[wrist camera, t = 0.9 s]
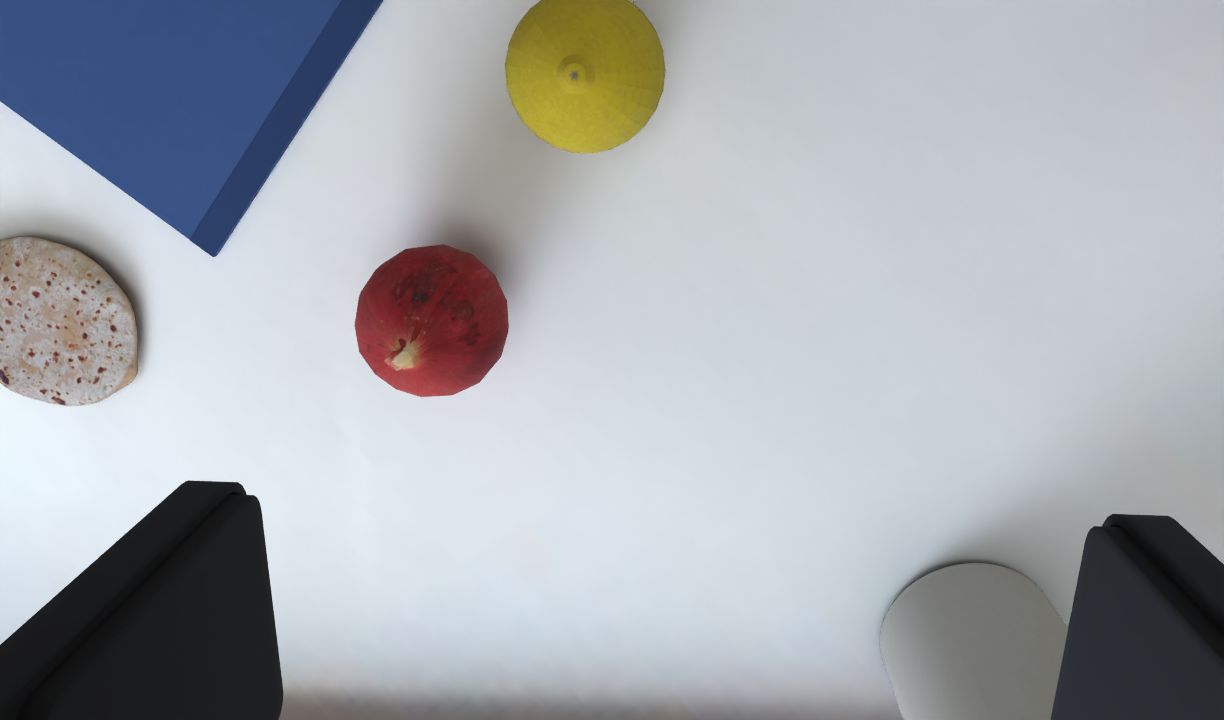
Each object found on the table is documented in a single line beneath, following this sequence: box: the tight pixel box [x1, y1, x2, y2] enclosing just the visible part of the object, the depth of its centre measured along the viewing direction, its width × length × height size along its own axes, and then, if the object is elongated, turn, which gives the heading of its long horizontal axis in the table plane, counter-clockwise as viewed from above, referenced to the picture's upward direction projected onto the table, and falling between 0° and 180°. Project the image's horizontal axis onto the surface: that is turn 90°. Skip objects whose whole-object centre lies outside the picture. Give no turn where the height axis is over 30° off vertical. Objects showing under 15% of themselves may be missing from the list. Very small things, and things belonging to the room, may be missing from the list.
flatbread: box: [0, 236, 138, 406], centre depth 40 cm, size 8×8×1 cm
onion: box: [355, 245, 509, 397], centre depth 35 cm, size 6×6×8 cm
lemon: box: [505, 0, 665, 153], centre depth 32 cm, size 6×6×8 cm
